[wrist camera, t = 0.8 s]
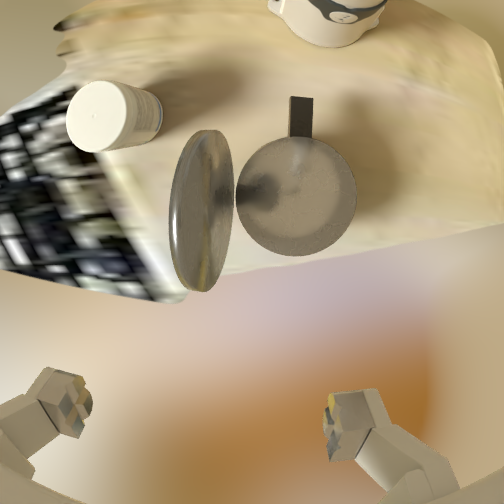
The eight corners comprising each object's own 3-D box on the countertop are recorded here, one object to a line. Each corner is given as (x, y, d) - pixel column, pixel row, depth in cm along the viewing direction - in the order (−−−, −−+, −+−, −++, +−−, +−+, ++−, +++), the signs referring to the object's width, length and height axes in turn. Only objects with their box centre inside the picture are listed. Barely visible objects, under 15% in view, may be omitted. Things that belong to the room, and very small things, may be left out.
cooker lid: (236, 131, 34) (212, 131, 35) (182, 127, 19) (145, 129, 20) (233, 254, 40) (212, 252, 41) (189, 324, 25) (158, 318, 26)
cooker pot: (242, 102, 42) (238, 92, 32) (340, 110, 43) (364, 104, 32) (238, 229, 50) (234, 254, 40) (330, 233, 50) (348, 258, 40)
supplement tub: (135, 80, 41) (93, 64, 27) (176, 111, 43) (144, 101, 29) (102, 126, 43) (53, 128, 30) (140, 158, 46) (99, 168, 32)
